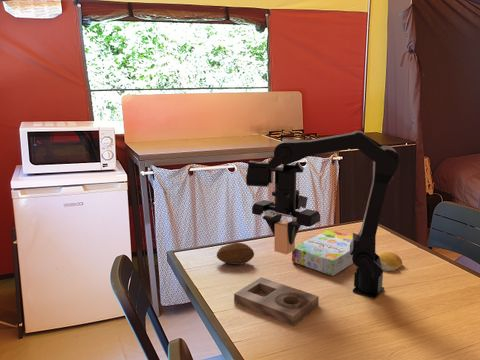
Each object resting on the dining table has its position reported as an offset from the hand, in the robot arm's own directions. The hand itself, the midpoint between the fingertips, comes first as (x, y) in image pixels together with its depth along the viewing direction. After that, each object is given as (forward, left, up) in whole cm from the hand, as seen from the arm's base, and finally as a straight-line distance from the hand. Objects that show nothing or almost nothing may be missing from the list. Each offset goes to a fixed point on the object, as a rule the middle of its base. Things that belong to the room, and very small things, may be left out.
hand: (284, 242), depth 124 cm
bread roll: (-18, -29, -13) cm, 37 cm away
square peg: (0, 0, -2) cm, 2 cm away
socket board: (-5, +11, -12) cm, 17 cm away
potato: (+19, -2, -13) cm, 23 cm away
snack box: (+5, -24, -10) cm, 26 cm away
